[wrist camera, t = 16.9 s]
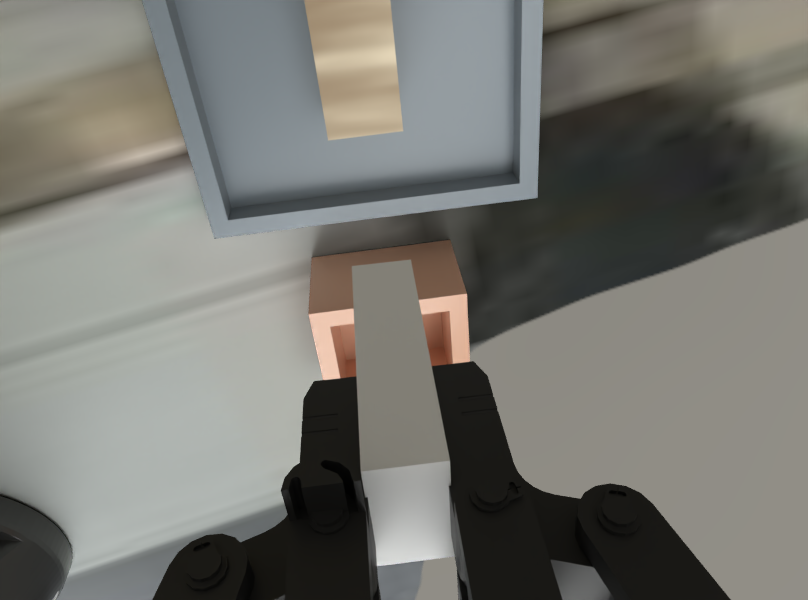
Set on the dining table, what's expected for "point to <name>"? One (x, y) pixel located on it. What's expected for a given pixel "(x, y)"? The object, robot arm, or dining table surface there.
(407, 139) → the slate tray
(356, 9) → the light wooden bar
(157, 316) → the dining table surface
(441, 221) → the dining table surface
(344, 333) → the pink open cubby
